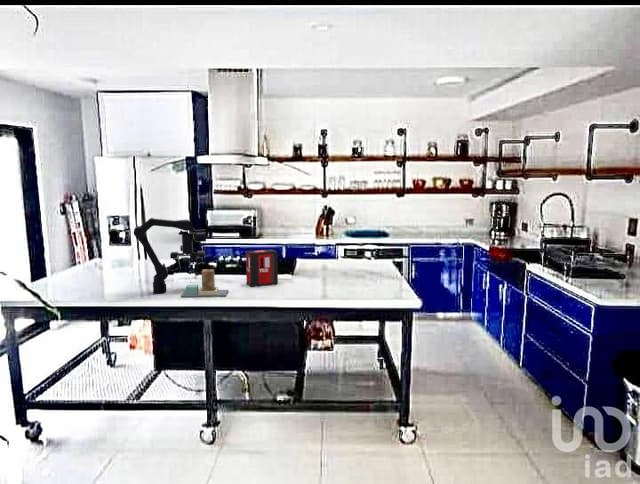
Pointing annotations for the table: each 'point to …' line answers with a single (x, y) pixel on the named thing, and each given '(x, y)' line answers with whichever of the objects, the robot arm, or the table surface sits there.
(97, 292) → the table surface
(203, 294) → the board
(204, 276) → the pillar
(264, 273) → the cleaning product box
